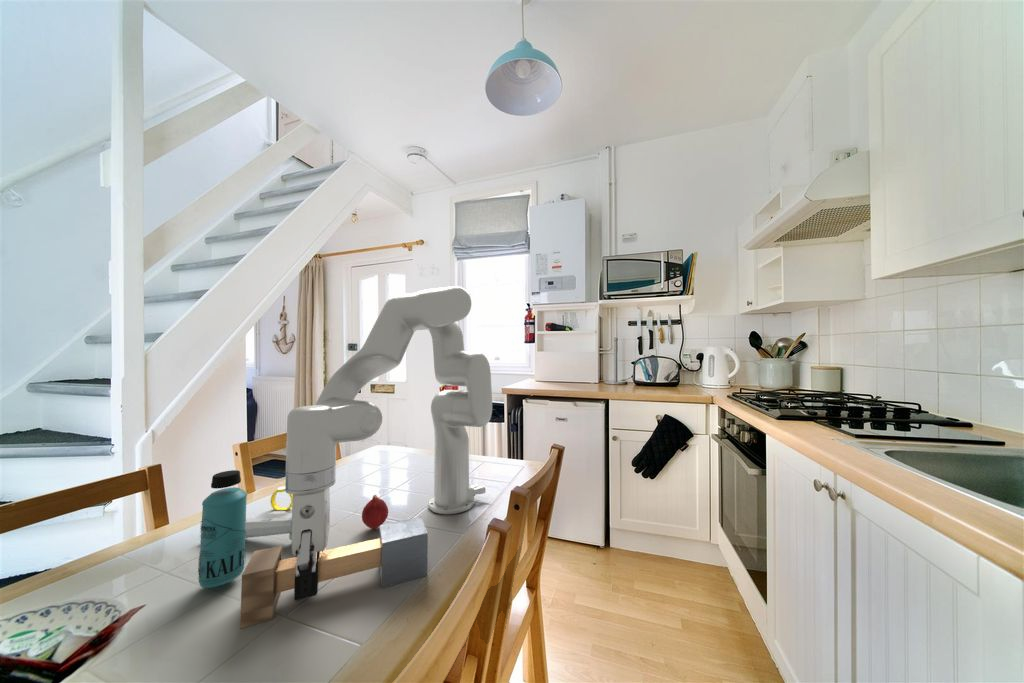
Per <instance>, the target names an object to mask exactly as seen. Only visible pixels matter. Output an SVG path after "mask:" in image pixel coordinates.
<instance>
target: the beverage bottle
mask: <svg viewBox="0 0 1024 683" xmlns="http://www.w3.org/2000/svg"><path fill="white" fill-rule="evenodd" d="M241 482H242V479H241V471H240V470H236V469H232V470H225V471H220V472H217V473H216V474H213V475H212V477H211V483H210V487H211V489H215V491H213V492H211V493H210V494H209V495H208V496H207V497H206V498H204V500H202V504H201V505H202V511H201V512H202V513H201V514H202V515H201V521H200V525H199V527H200V536H199V539H200V540H199V541H200V548H199V550H200V551H199V556H198V569H197V570H198V571H197V575H198V577H197V579H198V584H199V586H200V587H201V588H205V589H209V588H215V587H219V586H222V585H225V584H227V583H229V582H232V581H233V580H235V579H237V578H238V577H239V576H241V575H242V574H243V572H244V570H245V559H246V549H247V545H246V538H245V535H246V533H247V532H246V530H245V526H246V519H247V499H248V498H247V497H248V492H247V491H245V490H244V489H242V488H241V487H236V486H237V485H238V484H240V483H241ZM234 486H235V487H234ZM216 489H218V490H216Z"/></svg>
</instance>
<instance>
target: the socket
mask: <svg viewBox="0 0 1024 683" xmlns="http://www.w3.org/2000/svg"><path fill="white" fill-rule="evenodd" d="M279 560H283V544H282V545H277V546H273V547H269V548H263V549H258V550H254V551H253V552H252V555H251V557H250V558H249V560H248V563H247V565H245V567H244V569H243V572H242V573H241V588H240V589H241V592H240V593H241V594H240V619H239V620H240V622H239V623H240V624H239V628H240V629H242V628H247V627H250V626H254V625H257V624H261V623H264V622H267V621H271V620H273V618H274V615H275V612H276V608H277V606H278V603H279V599H280V596H281V593H282V592H279V593H275V594H274V588H275V569H276V566H277V563H278V561H279Z"/></svg>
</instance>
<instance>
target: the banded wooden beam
mask: <svg viewBox="0 0 1024 683" xmlns="http://www.w3.org/2000/svg"><path fill="white" fill-rule="evenodd" d="M312 550H314V547H311V548H310V551H312ZM309 558H310V560H311V561H312V560H313V555H309ZM310 560H309V561H310ZM296 563H297V557H293V556H292V557H290V558H285V559H282V560H279V561H278V563H277V566H276V569H275V588H274V594H275V593H279V592H281V593H283V592H286V591H290V590H294V585H295V574H296ZM381 564H382V544H381V538H380V537H378V538H373V539H370V540H365V541H361V542H356V543H352V544H347V545H344V546H338V547H334V548H330V549H325V550H324V551H323V552H322V551H318V552H317V562H316V568H318V585H319V584H320V583H321V582H326V581H330V580H333V579H338V578H341V577H346V576H349V575H353V574H356V573H360V572H364V571H365V572H366V571H369V570H372V569H376V568H379V567H381Z"/></svg>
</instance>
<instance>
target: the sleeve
mask: <svg viewBox="0 0 1024 683" xmlns="http://www.w3.org/2000/svg"><path fill="white" fill-rule="evenodd" d="M428 533H429V532H428V531H427V528H426V525H425V523H424V521H423V519H422V516H419V517H414V518H413V517H412V518H410V519H404V520H399V521H394V522H388V523H383V524H382V525H380V526H379V538H381V544H382V564H381V567H378V568H379V576H380V577H379V578H380V586H381V587H380V588H381V589H384V588H389V587H391V586H395V585H398V584H402V583H405V582H406V583H407V582H409V581H412V580H416V579H419V578H424V577H427V576H428V556H429V555H428V553H429V552H428V547H429V546H428V543H429V542H428V541H429V540H428V539H429V538H428Z"/></svg>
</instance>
